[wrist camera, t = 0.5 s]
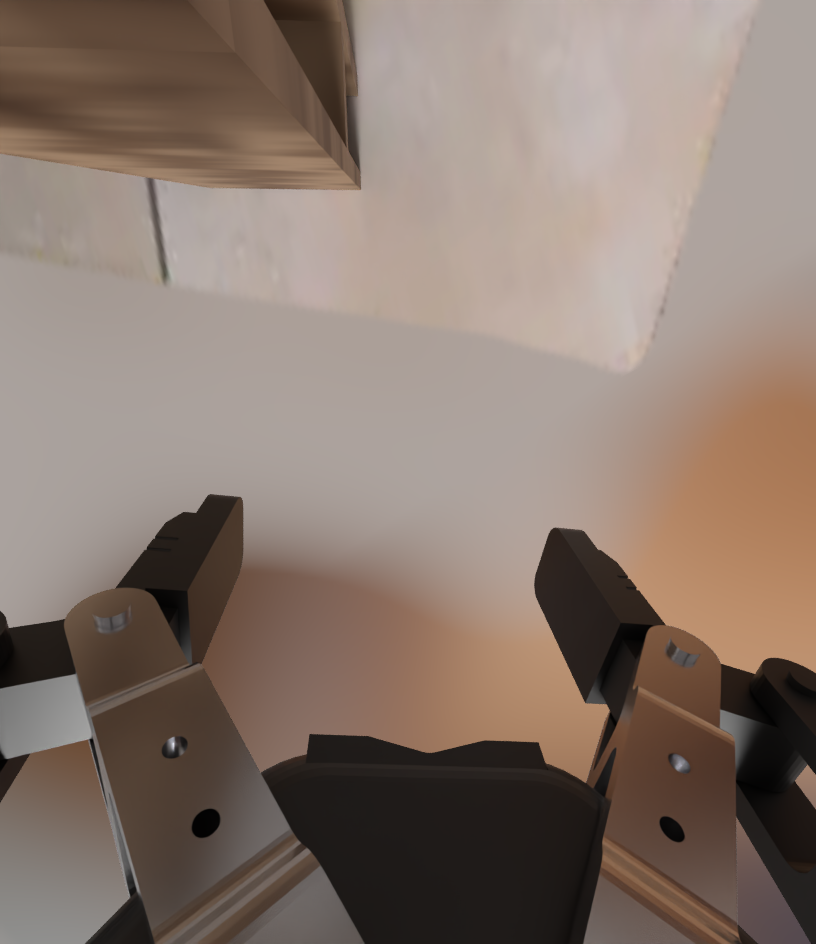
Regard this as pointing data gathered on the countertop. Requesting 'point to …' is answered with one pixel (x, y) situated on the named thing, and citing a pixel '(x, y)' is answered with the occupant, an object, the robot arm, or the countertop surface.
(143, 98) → the tall wooden block
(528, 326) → the countertop surface
